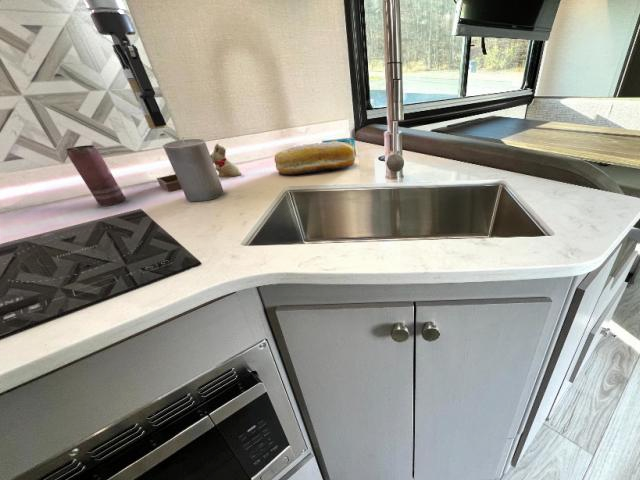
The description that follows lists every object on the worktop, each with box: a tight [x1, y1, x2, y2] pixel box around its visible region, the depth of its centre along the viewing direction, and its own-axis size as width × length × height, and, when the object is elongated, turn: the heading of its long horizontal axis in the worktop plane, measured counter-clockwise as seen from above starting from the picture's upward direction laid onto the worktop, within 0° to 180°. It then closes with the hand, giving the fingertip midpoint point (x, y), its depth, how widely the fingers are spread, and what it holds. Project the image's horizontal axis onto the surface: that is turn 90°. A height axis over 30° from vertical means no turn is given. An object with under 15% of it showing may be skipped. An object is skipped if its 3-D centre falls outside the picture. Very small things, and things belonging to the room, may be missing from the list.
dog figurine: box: [210, 142, 243, 178], centre depth 102 cm, size 6×8×10 cm
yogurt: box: [321, 136, 357, 157], centre depth 118 cm, size 12×2×6 cm, turn 112°
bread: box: [274, 142, 356, 176], centre depth 105 cm, size 13×26×8 cm, turn 111°
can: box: [66, 144, 126, 207], centre depth 82 cm, size 6×6×14 cm
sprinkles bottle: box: [122, 69, 168, 130], centre depth 84 cm, size 5×5×14 cm
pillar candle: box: [161, 136, 225, 202], centre depth 84 cm, size 10×10×15 cm
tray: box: [156, 173, 182, 193], centre depth 97 cm, size 11×9×2 cm
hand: (158, 124), depth 88 cm, fingers closed on sprinkles bottle, 4 cm apart
